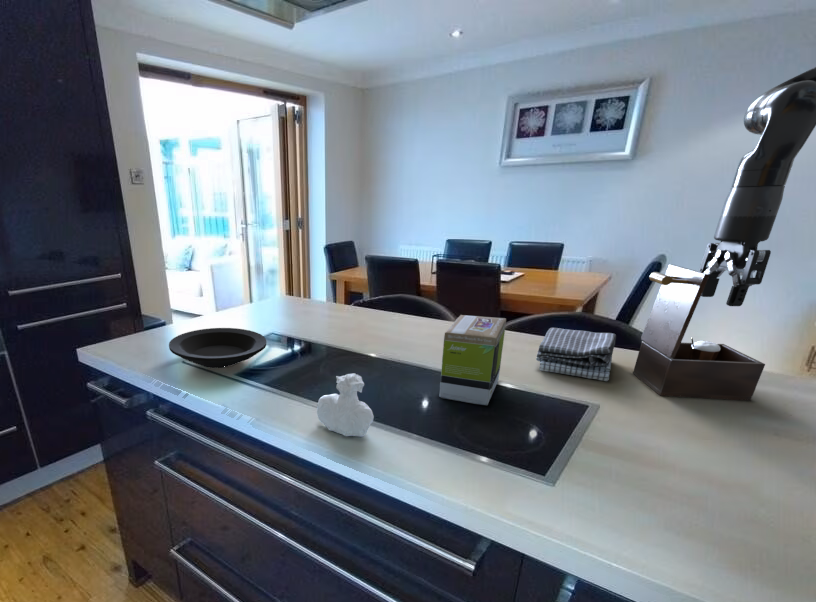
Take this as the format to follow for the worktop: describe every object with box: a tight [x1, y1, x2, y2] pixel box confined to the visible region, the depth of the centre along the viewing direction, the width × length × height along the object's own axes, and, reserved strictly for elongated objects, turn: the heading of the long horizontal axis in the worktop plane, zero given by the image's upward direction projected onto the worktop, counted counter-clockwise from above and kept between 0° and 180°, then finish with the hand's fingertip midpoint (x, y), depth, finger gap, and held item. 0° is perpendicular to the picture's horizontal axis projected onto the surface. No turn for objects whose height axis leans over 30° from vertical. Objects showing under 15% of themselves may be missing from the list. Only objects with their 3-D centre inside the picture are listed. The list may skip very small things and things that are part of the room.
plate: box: [168, 327, 267, 369], centre depth 116 cm, size 28×24×6 cm
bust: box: [316, 372, 375, 437], centre depth 80 cm, size 12×8×11 cm
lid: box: [640, 263, 709, 358], centre depth 90 cm, size 16×13×5 cm
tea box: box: [438, 314, 507, 406], centre depth 93 cm, size 15×10×15 cm
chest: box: [632, 340, 766, 402], centre depth 93 cm, size 16×13×8 cm
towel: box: [535, 327, 617, 382], centre depth 106 cm, size 15×18×8 cm
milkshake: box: [689, 337, 721, 361], centre depth 92 cm, size 5×5×10 cm
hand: (719, 301), depth 87 cm, fingers open, 8 cm apart
